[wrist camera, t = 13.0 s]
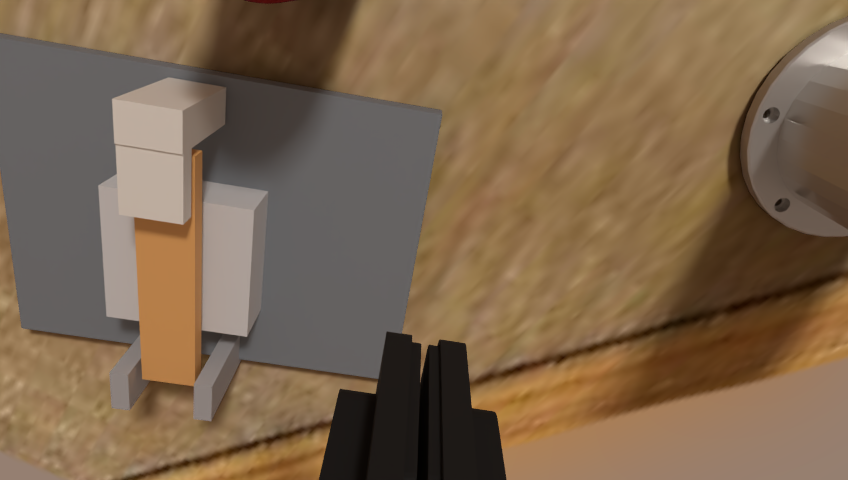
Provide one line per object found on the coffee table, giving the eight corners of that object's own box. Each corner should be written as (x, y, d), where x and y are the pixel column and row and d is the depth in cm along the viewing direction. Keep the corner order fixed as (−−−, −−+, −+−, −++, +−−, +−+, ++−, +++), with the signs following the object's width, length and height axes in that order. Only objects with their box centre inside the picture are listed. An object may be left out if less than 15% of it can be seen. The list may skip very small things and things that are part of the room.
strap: (202, 150, 28) (194, 156, 27) (201, 375, 34) (194, 386, 33) (140, 140, 28) (130, 146, 27) (149, 368, 34) (142, 379, 33)
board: (441, 110, 32) (445, 139, 26) (392, 375, 40) (386, 444, 34) (-2, 32, 31) (-105, 45, 25) (34, 324, 38) (-38, 387, 32)
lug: (226, 87, 31) (182, 110, 25) (223, 184, 33) (182, 225, 27) (168, 77, 30) (112, 98, 25) (169, 175, 33) (117, 215, 27)
